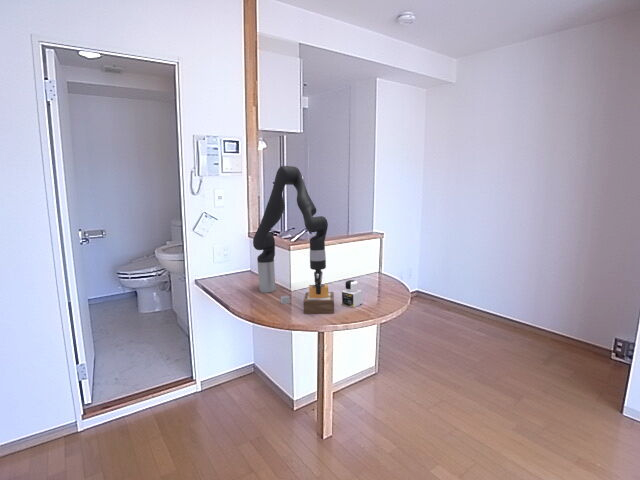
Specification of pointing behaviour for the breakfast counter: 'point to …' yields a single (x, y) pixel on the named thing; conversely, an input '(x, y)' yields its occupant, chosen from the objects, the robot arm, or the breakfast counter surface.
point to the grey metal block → (285, 299)
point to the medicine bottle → (351, 294)
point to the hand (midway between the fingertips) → (318, 291)
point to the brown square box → (319, 304)
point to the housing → (323, 291)
